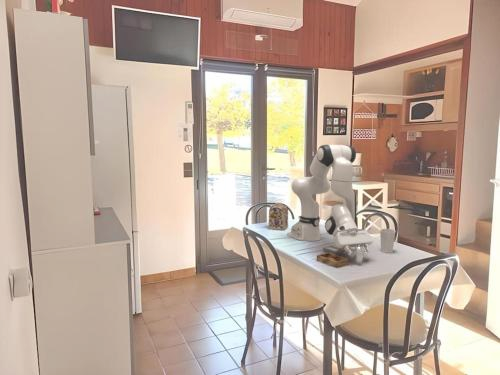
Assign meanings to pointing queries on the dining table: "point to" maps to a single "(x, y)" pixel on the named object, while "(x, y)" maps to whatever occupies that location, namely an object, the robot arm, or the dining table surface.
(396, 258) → the dining table surface
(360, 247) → the steel cell
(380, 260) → the dining table surface
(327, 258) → the brown wooden shallow tray
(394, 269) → the dining table surface
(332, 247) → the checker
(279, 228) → the decorative jar
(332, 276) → the dining table surface
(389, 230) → the cup
